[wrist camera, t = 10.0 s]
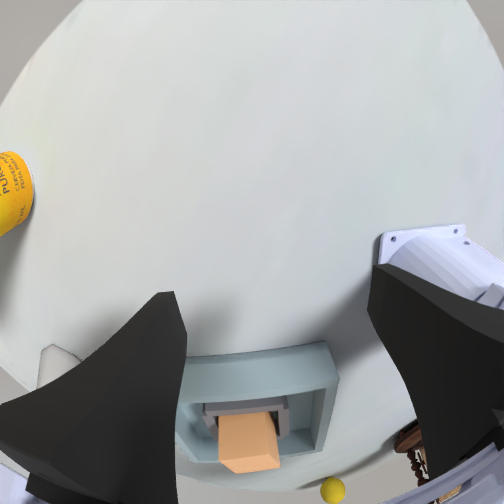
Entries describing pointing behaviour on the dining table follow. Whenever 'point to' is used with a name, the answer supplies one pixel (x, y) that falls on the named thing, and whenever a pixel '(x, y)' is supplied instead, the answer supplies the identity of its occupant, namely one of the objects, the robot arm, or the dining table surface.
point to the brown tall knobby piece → (409, 445)
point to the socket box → (258, 397)
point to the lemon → (332, 490)
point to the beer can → (14, 191)
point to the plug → (248, 442)
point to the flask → (54, 364)
